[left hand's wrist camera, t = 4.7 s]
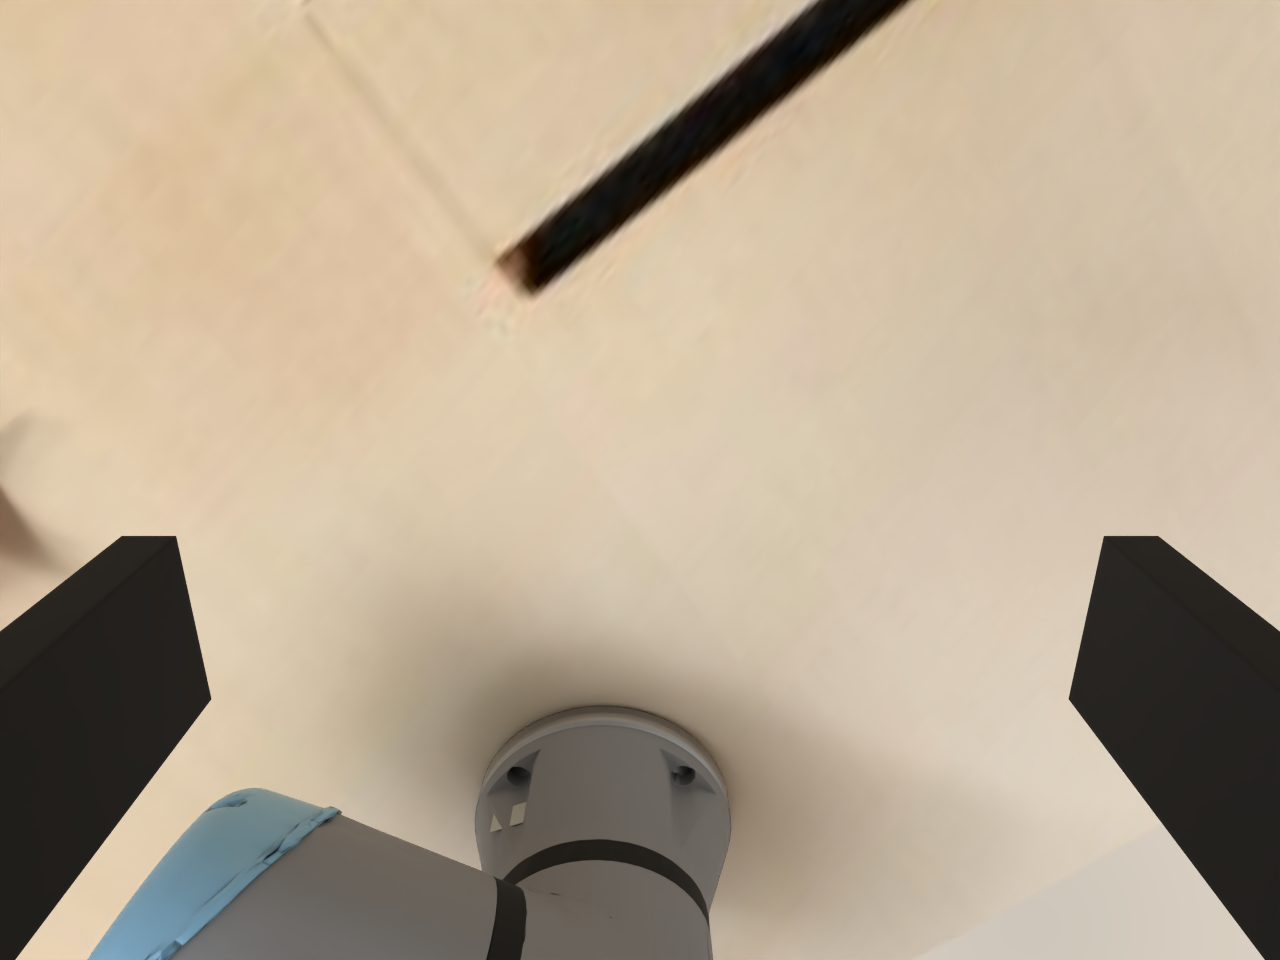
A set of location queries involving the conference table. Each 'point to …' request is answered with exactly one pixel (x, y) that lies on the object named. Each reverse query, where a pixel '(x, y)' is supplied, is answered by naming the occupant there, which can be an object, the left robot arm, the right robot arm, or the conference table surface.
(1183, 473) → the conference table surface
